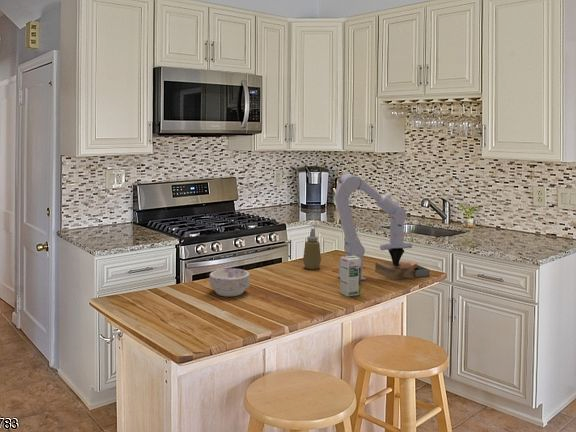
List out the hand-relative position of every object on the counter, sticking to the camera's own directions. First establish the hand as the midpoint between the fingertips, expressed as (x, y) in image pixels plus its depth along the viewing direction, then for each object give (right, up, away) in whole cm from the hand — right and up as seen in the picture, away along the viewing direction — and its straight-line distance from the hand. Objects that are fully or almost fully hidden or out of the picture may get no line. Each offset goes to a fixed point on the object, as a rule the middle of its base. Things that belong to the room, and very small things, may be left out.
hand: (395, 265), depth 245 cm
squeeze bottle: (-35, -3, +13) cm, 38 cm away
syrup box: (-22, -9, -25) cm, 35 cm away
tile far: (+8, 0, +10) cm, 13 cm away
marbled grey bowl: (-68, -9, -26) cm, 73 cm away
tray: (+9, -4, +7) cm, 12 cm away
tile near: (+3, -1, +1) cm, 4 cm away
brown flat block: (0, -4, +4) cm, 6 cm away
